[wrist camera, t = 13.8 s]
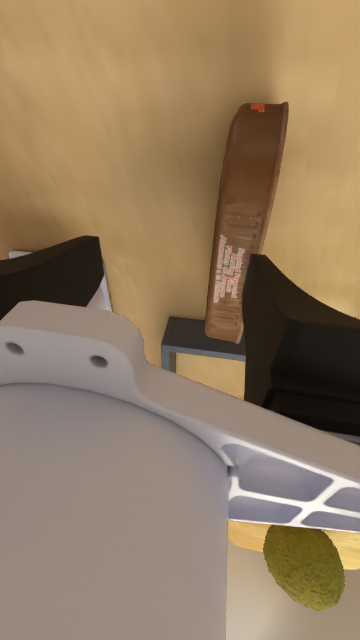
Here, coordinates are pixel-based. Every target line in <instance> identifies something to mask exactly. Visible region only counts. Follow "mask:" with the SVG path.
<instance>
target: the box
mask: <svg viewBox="0 0 360 640" xmlns="http://www.w3.org/2000/svg"><path fill="white" fill-rule="evenodd" d="M176 352H179V353H186V354H194V355H202V356H209V357H217V358H224V359H232V360H240V361H246V347H245V336H244V329H243V333H242V336H241V340H240V342H239V344H236V343H235V342H232V341H227V340H221V339H216V338H211V337H208V336H207V335H206V333H205V321H199V320H191V319H182V318H174V317H169V320H168V323H167V327H166V330H165V333H164V337H163V340H162V343H161V354H162V368H163V369H165V370H168V371H170V372H173V373H176Z"/></svg>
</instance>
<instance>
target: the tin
mask: <svg viewBox="0 0 360 640" xmlns="http://www.w3.org/2000/svg"><path fill="white" fill-rule="evenodd" d="M288 107H289V106H288V102H283V103H282V104H257V103H246V104H243V105H241V107H240V108H239V110H238V112H237V114H236V115H235V117H234V119H233V121H232V123H231V126H230V130H229V135H228V139H227V145H226V150H225V156H224V161H223V169H222V175H221V182H220V190H219V198H218V205H217V213H216V222H215V230H214V240H213V248H212V257H211V266H210V275H209V285H208V296H207V308H206V319H205V333H206V335H207V336H208V337H211V338H216V339H221V340H227V341H232V342H235V343H236V344H239V342H240V340H241V336H242V333H243V329H244V326H243V316H242V291H243V287H244V282H245V278H246V274H247V269H248V265H249V260H250V256H251V253H252V254H261V253H262V248H263V244H264V240H265V236H266V232H267V227H268V223H269V219H270V215H271V210H272V206H273V202H274V197H275V192H276V187H277V181H278V177H279V173H280V167H281V161H282V155H283V149H284V144H285V137H286V131H287V122H288V111H289V108H288Z"/></svg>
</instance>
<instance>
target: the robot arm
mask: <svg viewBox="0 0 360 640" xmlns="http://www.w3.org/2000/svg"><path fill="white" fill-rule="evenodd" d="M8 255H9V258H10V259H6V260H0V640H225V639H226V593H227V591H226V590H227V588H226V587H227V545H228V543H227V542H228V520H230V521H241V522H252V523H262V524H273V525H283V526H294V527H305V528H315V529H326V530H335V531H344V532H353V533H360V320H359V319H356V318H353V317H351V316H349V315H346V314H344V313H342V312H339V311H337V310H335V309H333V308H331V307H329V306H327V305H325V304H324V303H322V302H320V301H318V300H316V299H315V298H313V297H312V296H310V295H309V294H307V293H306V292H304V291H303V290H301V289H300V288H299V287H297V286H296V285H295V284H294V283H293V282H292V281H290V280H289V279H288V278H287V277H286V276H285V275H284V274H283V273H282V272H281V271H280V270H279V269H278V268H277V267H276V266H275V265H274V264H273V263H272V262H271V260H270V259H269V258H268V257H267V256H266V255H261V254H252V253H251V256H250V260H249V265H248V269H247V274H246V278H245V282H244V287H243V291H242V316H243V326H244V336H245V347H246V363H245V393H244V400H242V399H239V398H237V397H234V396H232V395H229V394H226V393H224V392H221V391H219V390H216V389H214V388H211V387H209V386H206V385H204V384H201V383H198V382H196V381H193V380H191V379H188V378H186V377H183V376H181V375H178V374H176V373H173V372H170V371H168V370H165V369H163V368H160V367H158V366H155V365H153V364H150V363H149V362H148V361H147V360H146V358H145V354H144V340H143V338H142V335H141V333H140V331H139V328H138V327H137V326H136V325H135V324H133V323H132V322H131V321H130V320H129V319H128V318H126V317H125V316H123V315H120V314H117V313H114V312H112V307H111V302H110V296H109V291H108V285H107V280H106V274H105V269H104V264H103V261H102V255H101V249H100V242H99V237H96V236H87V235H86V236H81V237H77V238H74V239H71V240H68V241H66V242H63V243H60V244H57V245H55V246H52V247H49V248H46V249H43V250H40V251H37V252H24V251H14V250H13V251H11V252H9V254H8Z"/></svg>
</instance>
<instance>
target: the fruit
mask: <svg viewBox="0 0 360 640" xmlns="http://www.w3.org/2000/svg"><path fill="white" fill-rule="evenodd" d="M263 553H264V555H265V560H266V562H267V566H268V569H269V572H270V573H271V574H272V576H273V577H274V578H275V580H276V583H277V584H278V585H279V586H280V587H282V589H283V590H284V591H285V592H286V593H287V594H288V595H289V596H290V597H291V598H292V599H293V600H295V601H298V602H299V603H300V604H302V605H305V607H308V608H310V607H311V608H313V609H314V610H317V611H320V610H321V609H327V608H329V607H332V606H335V605H336V604H337V603H338V601H339V599H340V596H341V595H342V593H343V591H344V590H343V589H344V586H345V584H344V582H345V581H344V578H345V577H344V572H343V571H344V570H343V566H342V563H341V560H340V557H339V553H338V551H337V548H336V547H335V546H334V545H333V542H332V541H331V539H329V537H328V535H326V534H325V533H324V532H322V531H321V530H320V529H315V528H305V527H294V526H283V525H272V526H271V527H269V529H268V531H267V534H266V536H265V543H264V548H263Z"/></svg>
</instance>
